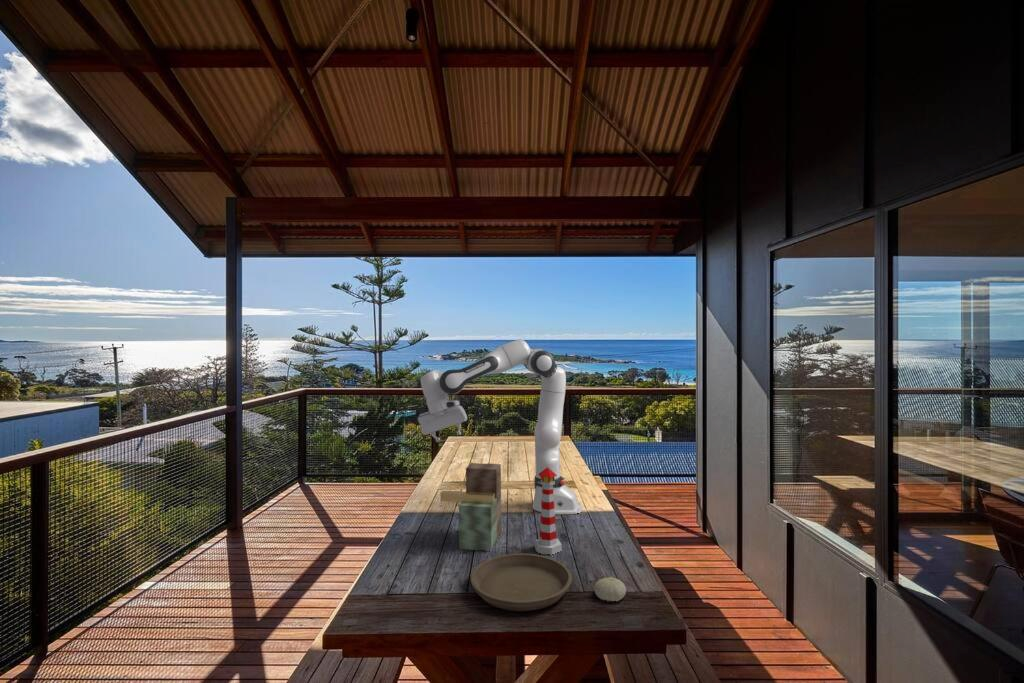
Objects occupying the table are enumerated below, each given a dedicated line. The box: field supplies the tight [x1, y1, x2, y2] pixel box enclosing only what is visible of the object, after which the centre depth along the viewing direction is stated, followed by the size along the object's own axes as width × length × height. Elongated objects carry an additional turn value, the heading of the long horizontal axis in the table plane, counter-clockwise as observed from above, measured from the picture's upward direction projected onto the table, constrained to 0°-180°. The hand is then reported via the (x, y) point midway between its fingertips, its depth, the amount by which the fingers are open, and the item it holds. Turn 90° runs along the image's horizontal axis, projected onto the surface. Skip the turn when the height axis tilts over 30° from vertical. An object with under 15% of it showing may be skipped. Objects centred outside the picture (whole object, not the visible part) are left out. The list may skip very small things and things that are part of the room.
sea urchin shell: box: [593, 576, 627, 602], centre depth 154 cm, size 9×8×8 cm
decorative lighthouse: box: [533, 467, 563, 556], centre depth 187 cm, size 10×9×30 cm
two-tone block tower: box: [458, 462, 502, 551], centre depth 196 cm, size 12×18×27 cm, turn 170°
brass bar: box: [440, 490, 495, 504], centre depth 192 cm, size 20×3×3 cm, turn 80°
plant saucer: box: [470, 553, 573, 612], centre depth 159 cm, size 31×31×5 cm
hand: (449, 438), depth 220 cm, fingers open, 8 cm apart
